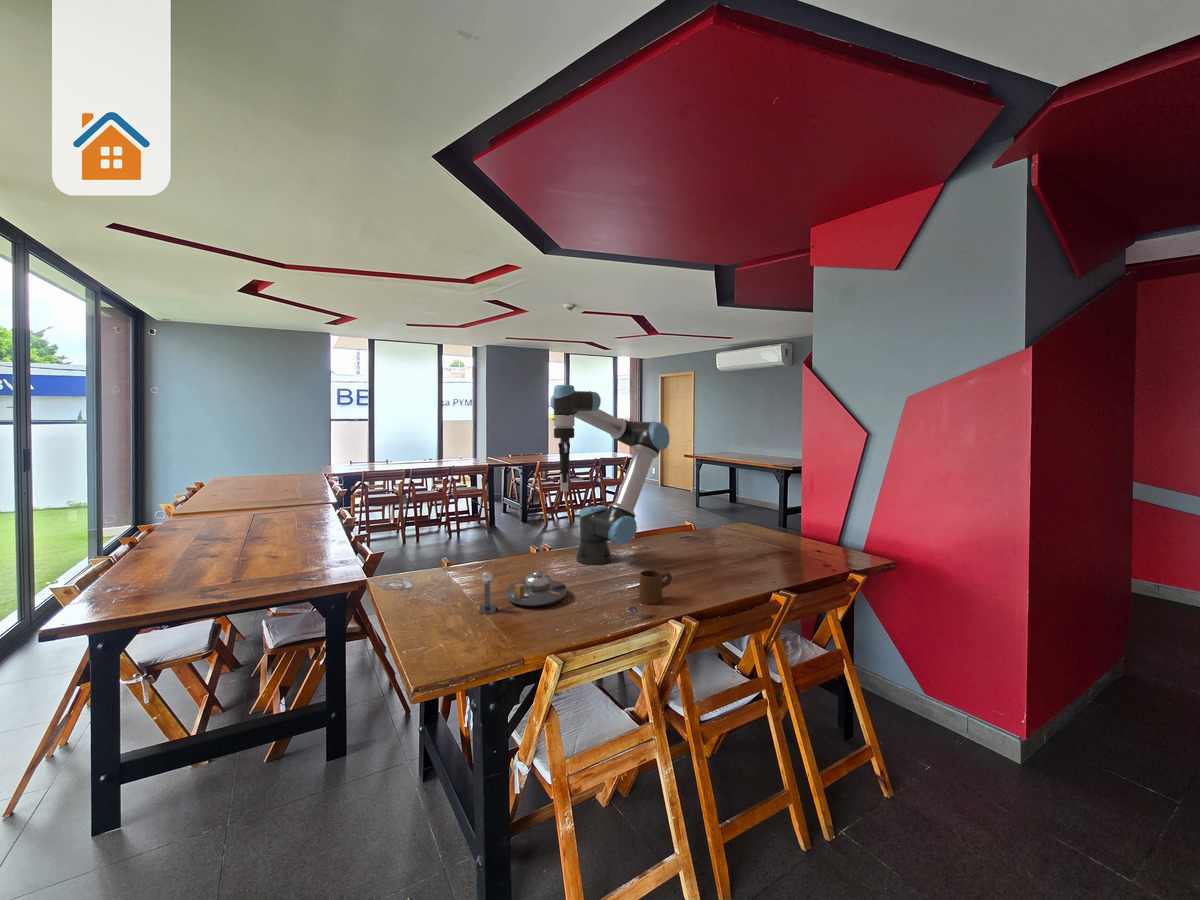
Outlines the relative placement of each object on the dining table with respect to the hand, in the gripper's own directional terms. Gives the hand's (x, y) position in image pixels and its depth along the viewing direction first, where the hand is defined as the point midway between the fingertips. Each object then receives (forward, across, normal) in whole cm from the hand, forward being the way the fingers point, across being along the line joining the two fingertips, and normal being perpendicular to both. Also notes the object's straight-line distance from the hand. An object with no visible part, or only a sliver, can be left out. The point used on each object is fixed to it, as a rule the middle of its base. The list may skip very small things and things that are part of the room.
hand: (564, 490), depth 182 cm
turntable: (+33, +15, -11) cm, 38 cm away
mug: (+35, +23, +29) cm, 51 cm away
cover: (+31, +14, -11) cm, 36 cm away
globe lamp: (+34, +23, -27) cm, 49 cm away
